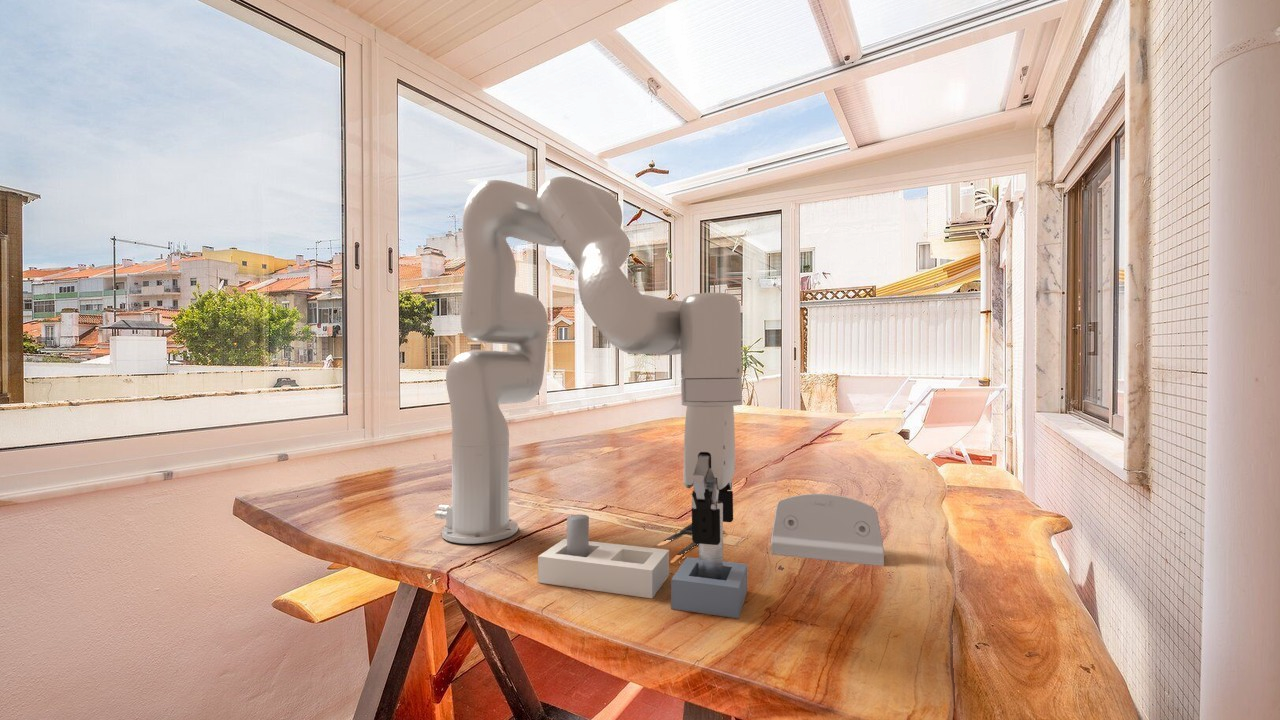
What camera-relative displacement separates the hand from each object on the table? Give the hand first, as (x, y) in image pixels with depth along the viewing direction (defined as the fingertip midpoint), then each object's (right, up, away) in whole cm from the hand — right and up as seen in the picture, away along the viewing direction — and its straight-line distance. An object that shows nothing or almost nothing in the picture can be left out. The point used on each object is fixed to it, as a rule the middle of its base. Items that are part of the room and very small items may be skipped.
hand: (714, 531), depth 67 cm
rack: (-14, -9, +7) cm, 18 cm away
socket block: (0, -9, 0) cm, 9 cm away
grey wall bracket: (+20, -9, +18) cm, 28 cm away
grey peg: (0, -9, 0) cm, 9 cm away
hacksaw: (-1, -10, +20) cm, 23 cm away
